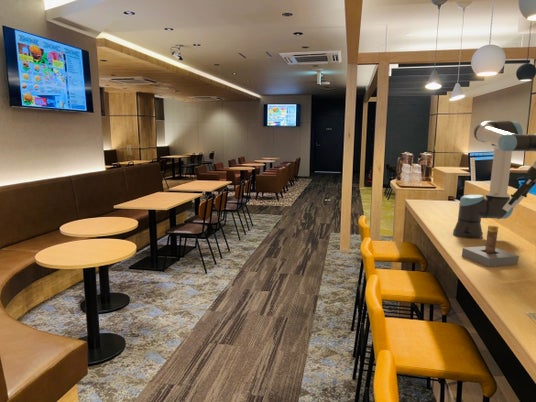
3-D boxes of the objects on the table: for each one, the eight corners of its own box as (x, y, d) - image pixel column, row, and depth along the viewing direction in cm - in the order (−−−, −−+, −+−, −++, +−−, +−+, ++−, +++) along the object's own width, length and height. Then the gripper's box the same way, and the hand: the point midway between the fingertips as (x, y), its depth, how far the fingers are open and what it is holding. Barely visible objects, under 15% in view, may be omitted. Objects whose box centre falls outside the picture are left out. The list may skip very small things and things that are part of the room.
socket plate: (489, 253, 190) (490, 245, 190) (517, 264, 175) (518, 256, 174) (461, 255, 186) (462, 247, 185) (488, 267, 171) (489, 258, 170)
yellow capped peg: (488, 258, 183) (493, 225, 180) (495, 261, 179) (500, 227, 176) (482, 258, 182) (486, 225, 179) (488, 261, 178) (493, 228, 175)
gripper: (544, 176, 160) (510, 216, 170) (553, 173, 178) (522, 209, 188) (526, 166, 164) (494, 206, 173) (537, 164, 181) (507, 200, 191)
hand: (508, 208), depth 181 cm, fingers open, 13 cm apart
